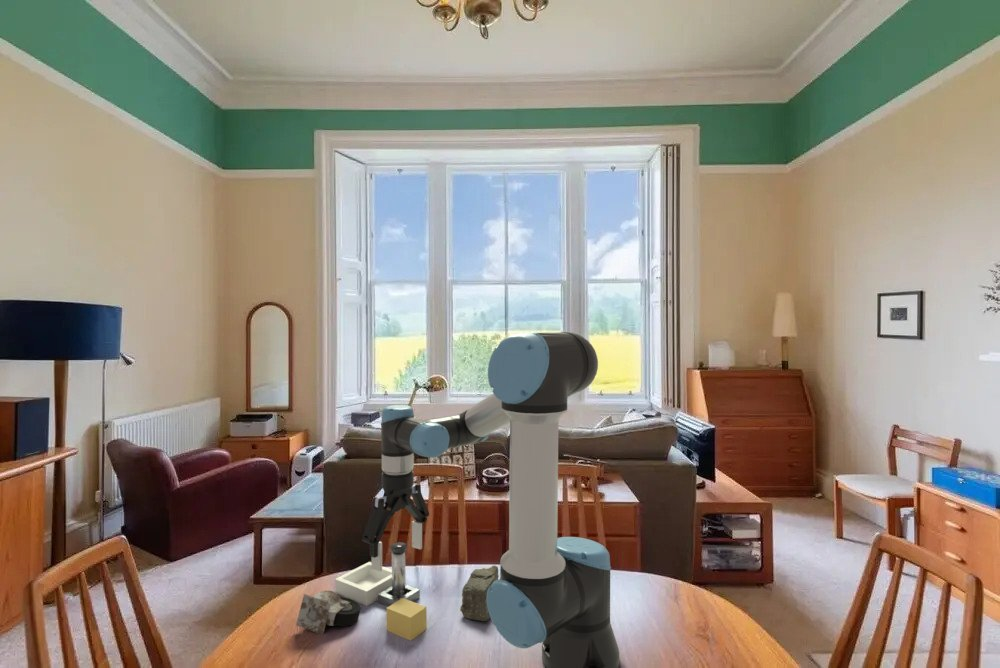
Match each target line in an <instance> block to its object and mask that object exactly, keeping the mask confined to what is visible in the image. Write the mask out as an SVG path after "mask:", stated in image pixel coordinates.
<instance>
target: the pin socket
mask: <svg viewBox="0 0 1000 668" xmlns="http://www.w3.org/2000/svg"><path fill="white" fill-rule="evenodd" d="M420 590H421V589H420V588H416V587H414V586H412V585H408V584H406V594H405V595H404V596H402V597H401V598H397V597H394V596H392V586H391V587H389V588H387V589H386V590H384V591H382V592H380V593H379V594H378V600H377V603H378V604H381V605H384V606H386V607H389V606H391V605H392V604H394V603H395V602H397V601H398V600H400V599H402V598H404V599H407V600H409V601H412V602H415V601H417V600H418V599H420V596H421V594H420V592H421V591H420Z"/></svg>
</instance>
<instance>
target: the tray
mask: <svg viewBox="0 0 1000 668" xmlns="http://www.w3.org/2000/svg"><path fill="white" fill-rule="evenodd" d="M391 586H392V568H388V567H386V566H383V565H382V571H377V570H374V569H372V568H371V561H368V562H366V563H364V564H362V565H360V566H358V567H356V568H353V569H352V570H350V571H348V572H346V573H344V574H343V575H340V576H339V577H336V578H335V579H334V587H335V588H334V592H335V593H336V594H338V596H340V597H346V598H350V599H352V600H355V601H356V602H357V603H359V605H360V604H361V605H363V606H365V607H368V606H369V605H371V604H373V603H374V602H376V601H377V602H378V594H379V593H380V592H382V591H384V590H386V589H387V588H389V587H391Z"/></svg>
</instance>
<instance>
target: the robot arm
mask: <svg viewBox="0 0 1000 668" xmlns="http://www.w3.org/2000/svg"><path fill="white" fill-rule="evenodd" d="M487 367H488V368H487V379H488V383H489V384H488V385H489V387H490V388H492V394H490V395H488V396H487V397H485V398H483V399H482V400H480V401H478V402H477V403H475V404H474V405H472V406H470V407H469V408H468V409H466V410H465V411H463V412H461V413H458V414H454V415H453V414H452V415H448V416H447V415H446V416H442V417H436V418H435V417H434V418H428V419H420V418H415V414H414V409H413V407H412V406H410V405H405V404H394V405H388V406H385V407H384V408H383V409H382V410H381V422H380V428H381V433H380V436H381V443H380V444H381V471H382V473H381V487H382V490H383V492H384V493H383V496H380V497H378V496H374V497H373V499H372V508H371V510H370V513H369V517H368V520H367V523H366V527H365V529H364V531H363V532H364V533H363V535H362V538H361V542H364V543H367V544H369V556H370V557H371V558H370V559H371V560H370V562H371V568H372V569H374V570H377V571H382V566H383V542H382V541H381V539H382V537H383V535H384V533H385V531H386V529H387V526H388V525H389V522H390V521H391V518H392V517H393V516H394V515H395V514H396V512H399V511H400V510H404V509H406V511H407V512H408V513H409V514H410V515H411V517H412V518H413V521H411V548H414V549H418V550H422V549H423V533H424V523H426V522H427V520H428V517H429V516H430V511H429V508H428V507H427V504H426V501H425V498H424V497H423V493H422V487H421V484H419V483H415V480H414V470H413V469H414V468H415V467H414V466H415V464H414V460H415V459H414V454H416V455H418V456H420V457H424V458H433V459H434V458H439V457H440V456H441V455H442V454H444V453H445V452H446V451H447V450H450V449H454V448H458V447H459V448H460V447H462V446H468V445H475V444H478V443H481V442H485V441H486V440H487V439H489V438H490V437H489V436H490V434H491V433H493V432H496V431H497V430H499V429H501V428H502V427H504V426H506V425H508V424H509V489H508V490H509V507H508V509H509V510H508V512H509V513H508V514H509V515H508V516H509V518H508V520H509V521H508V522H509V523H508V527H509V528H508V550H507V551H506V552H505V553H503V554H502V556H501V558H500V569H499V571H500V572H499V573H500V574H499V578H498V580H495V581H494V582H493V584H492V585H491V586H490V587H489V588H488V591H487V607H488V611H489V615H490V619H491V621H492V624H493V625H494V626H495V629H496V630H497V633H499V635H500V636H502V638H503V639H504V640H505V641H506V642H508V643H509V644H510V645H512V646H513V647H516V648H519V649H529V648H532V647H533V646H535V645H538V644H540V643H542V644H541V660H542V662H543V663H542V664H543V665H544V667H545V668H619V667H620V650H619V646H618V642H617V638H616V636H615V634H614V633H615V632H614V629H613V628H612V624H611V571H612V566H611V558H610V556H611V555H610V552H609V551H608V549H607V548H606V547H605V546H604V545H603V544H601V543H599V542H597V541H595V540H592V539H589V538H584V537H578V536H562V537H558V516H559V515H558V501H559V498H558V497H559V491H558V489H559V422H560V418H562V416H563V415H565V414H566V413H567V412H568V402H569V401H568V399H569V397H570V396H572V395H575V394H577V393H579V392H582V391H584V390H586V389H587V387H590V386H591V384H592V383H593V381H594V380H595V378H596V376H597V373H598V369H599V361H598V355H597V352H596V350H595V348H594V347H593V345H592V344H591V343H590V341H589V340H587V339H586V338H585V337H584V336H582V335H580V334H577V333H574V332H569V331H561V332H531V331H529V332H522V333H516V334H515V333H514V334H511V335H508V336H507V337H505V338H503V339H502V340H500V342H499V344H498V345H497V346H496V347H495V348H494V349H493V351H492V353H491V355H490V358H489V362H488V366H487ZM411 497H412V498H411ZM412 499H413V500H412Z"/></svg>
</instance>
